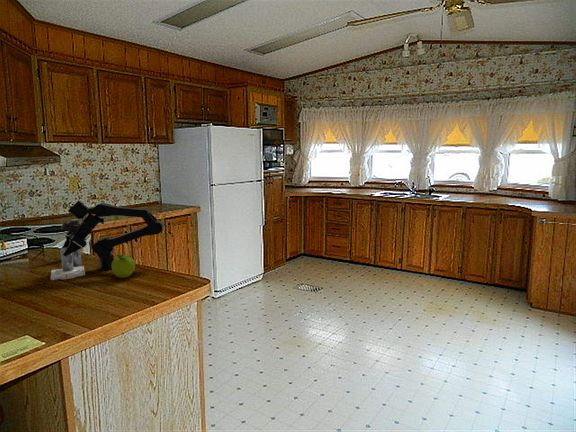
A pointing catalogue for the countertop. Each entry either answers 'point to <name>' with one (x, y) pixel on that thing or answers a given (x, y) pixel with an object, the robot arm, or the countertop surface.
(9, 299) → the countertop surface
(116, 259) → the fruit
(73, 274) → the scale
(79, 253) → the cylinder
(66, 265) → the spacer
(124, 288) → the countertop surface
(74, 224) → the sauce bottle
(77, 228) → the robot arm
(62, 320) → the countertop surface
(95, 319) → the countertop surface
